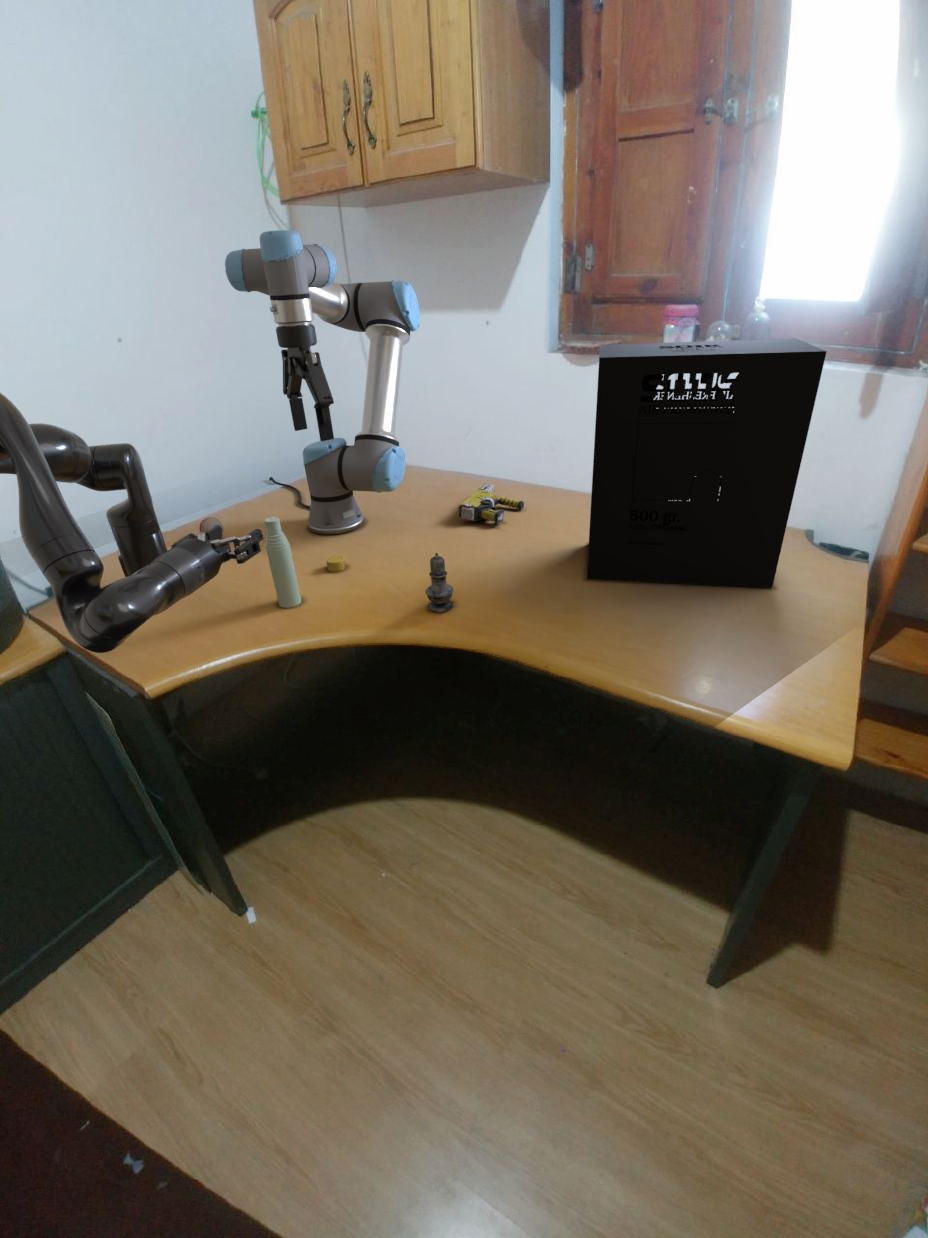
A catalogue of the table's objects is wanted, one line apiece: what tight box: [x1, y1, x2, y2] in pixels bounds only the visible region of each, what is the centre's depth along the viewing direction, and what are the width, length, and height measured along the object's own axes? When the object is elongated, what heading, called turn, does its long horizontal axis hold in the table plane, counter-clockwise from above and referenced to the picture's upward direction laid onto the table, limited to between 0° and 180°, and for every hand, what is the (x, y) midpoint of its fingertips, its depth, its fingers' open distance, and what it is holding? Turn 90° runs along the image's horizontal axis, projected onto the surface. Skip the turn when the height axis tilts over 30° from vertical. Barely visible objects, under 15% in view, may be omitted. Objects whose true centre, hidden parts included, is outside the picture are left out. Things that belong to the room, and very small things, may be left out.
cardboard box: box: [586, 338, 828, 589], centre depth 126 cm, size 38×20×45 cm, turn 78°
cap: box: [326, 555, 346, 573], centre depth 144 cm, size 4×4×2 cm
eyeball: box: [198, 516, 224, 534], centre depth 163 cm, size 6×6×6 cm
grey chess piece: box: [424, 552, 455, 613], centre depth 122 cm, size 6×6×12 cm
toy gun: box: [457, 482, 525, 525], centre depth 171 cm, size 5×24×15 cm
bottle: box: [263, 516, 302, 609], centre depth 126 cm, size 5×5×19 cm
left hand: (240, 532), depth 111 cm, fingers open, 8 cm apart
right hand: (313, 434), depth 129 cm, fingers open, 13 cm apart
